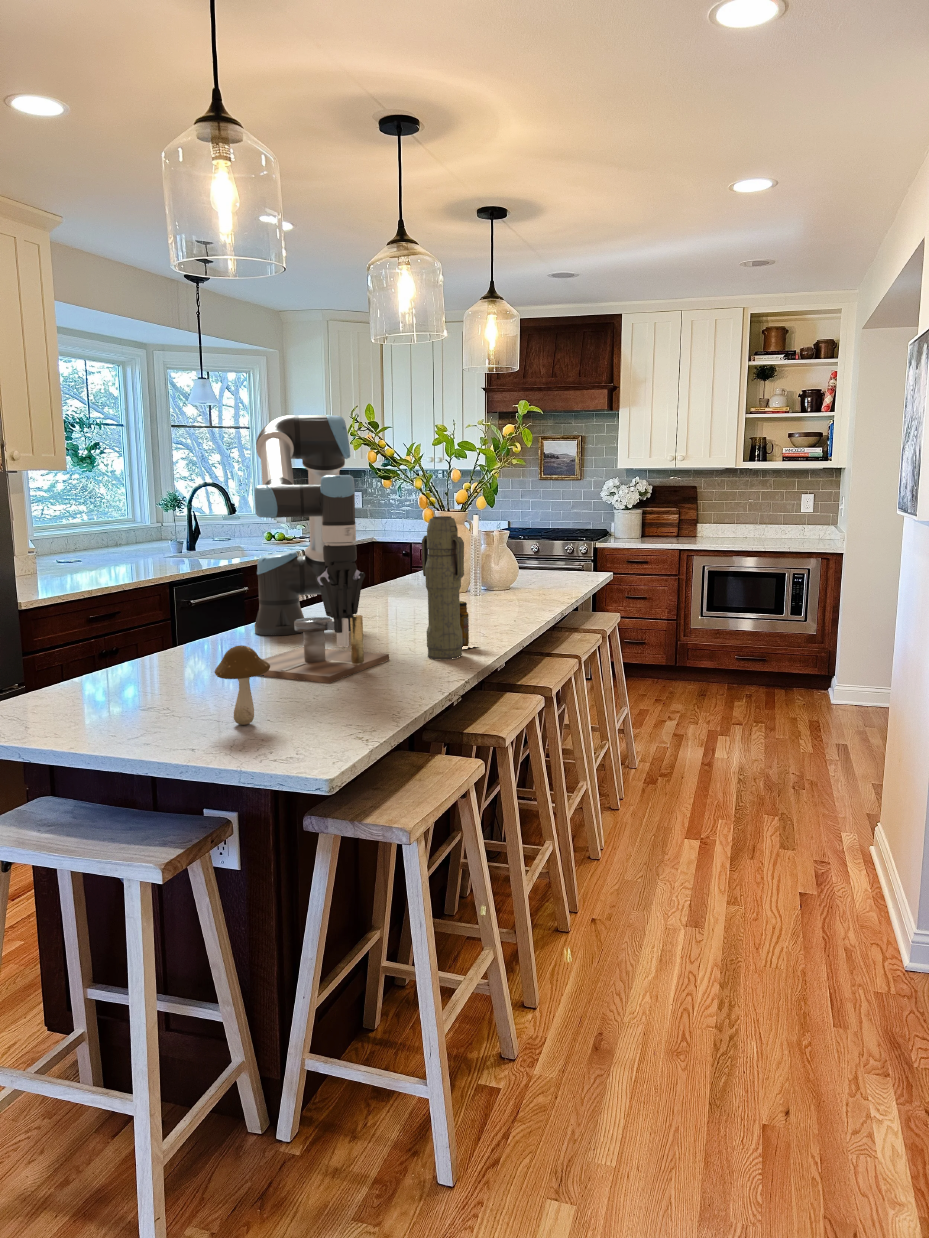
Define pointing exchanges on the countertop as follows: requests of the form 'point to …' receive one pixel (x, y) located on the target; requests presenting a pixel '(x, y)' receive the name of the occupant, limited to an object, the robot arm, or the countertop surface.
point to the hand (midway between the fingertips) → (343, 646)
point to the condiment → (464, 623)
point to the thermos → (443, 586)
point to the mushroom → (242, 678)
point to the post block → (318, 661)
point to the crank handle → (327, 624)
